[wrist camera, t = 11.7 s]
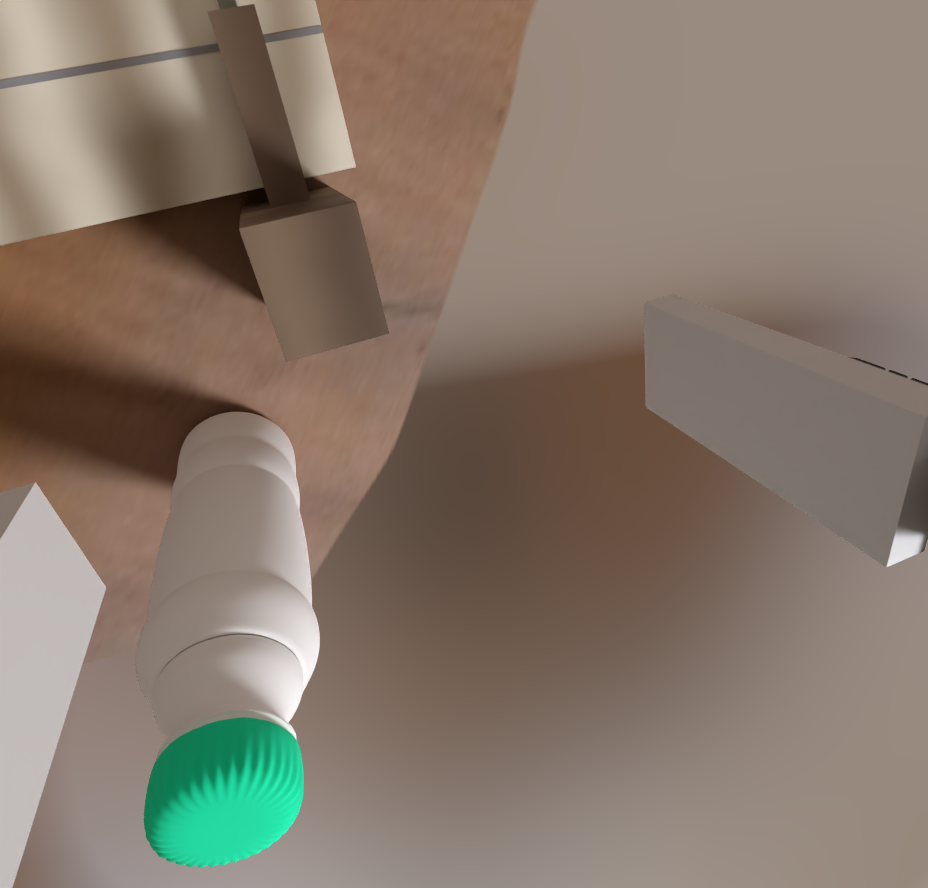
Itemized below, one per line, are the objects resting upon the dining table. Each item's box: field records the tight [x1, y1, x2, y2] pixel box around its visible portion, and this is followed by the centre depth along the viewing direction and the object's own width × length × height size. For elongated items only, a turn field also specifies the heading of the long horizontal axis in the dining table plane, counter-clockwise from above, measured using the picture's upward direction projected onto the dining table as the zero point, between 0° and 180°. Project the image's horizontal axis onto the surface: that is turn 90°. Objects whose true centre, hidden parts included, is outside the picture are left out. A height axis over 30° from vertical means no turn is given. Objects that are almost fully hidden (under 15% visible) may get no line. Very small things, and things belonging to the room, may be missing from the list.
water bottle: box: [136, 412, 320, 867], centre depth 28 cm, size 7×7×25 cm
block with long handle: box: [207, 4, 389, 362], centre depth 28 cm, size 5×14×10 cm, turn 10°
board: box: [0, 0, 356, 245], centre depth 28 cm, size 20×11×2 cm, turn 100°
